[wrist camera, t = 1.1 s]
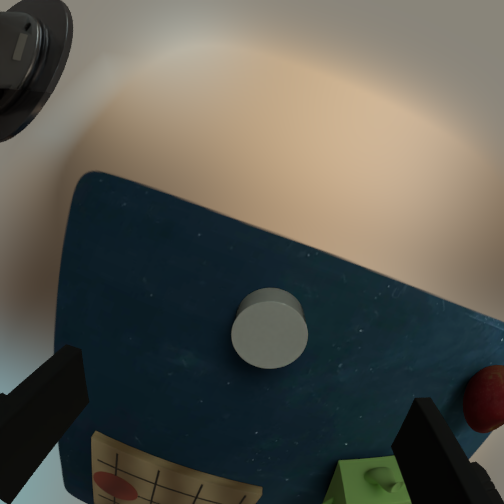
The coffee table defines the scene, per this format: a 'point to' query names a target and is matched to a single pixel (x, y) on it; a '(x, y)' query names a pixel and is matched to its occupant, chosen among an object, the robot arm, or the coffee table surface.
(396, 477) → the teapot
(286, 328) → the gray cylinder
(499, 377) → the apple
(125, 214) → the coffee table surface
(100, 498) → the board
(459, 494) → the robot arm
